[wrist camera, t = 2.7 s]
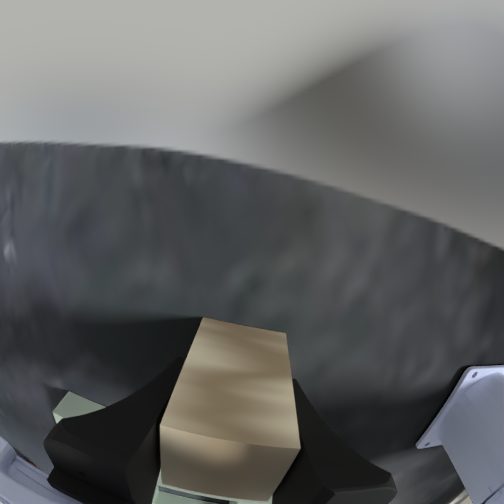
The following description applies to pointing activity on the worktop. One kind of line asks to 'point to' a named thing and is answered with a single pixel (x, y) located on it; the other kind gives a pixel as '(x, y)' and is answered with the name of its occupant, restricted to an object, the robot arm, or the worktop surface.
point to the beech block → (231, 414)
